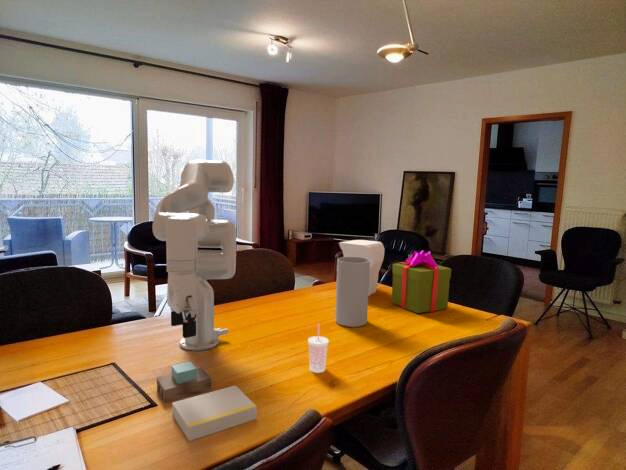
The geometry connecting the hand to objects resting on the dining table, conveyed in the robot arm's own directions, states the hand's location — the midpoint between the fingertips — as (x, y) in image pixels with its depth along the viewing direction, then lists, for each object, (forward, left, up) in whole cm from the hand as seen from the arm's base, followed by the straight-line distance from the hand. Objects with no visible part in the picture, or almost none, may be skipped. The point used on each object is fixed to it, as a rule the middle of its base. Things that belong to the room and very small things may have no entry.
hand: (183, 330), depth 109 cm
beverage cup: (-37, +8, -16) cm, 41 cm away
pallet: (0, 0, -17) cm, 17 cm away
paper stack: (-105, -49, -16) cm, 117 cm away
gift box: (-112, -20, -17) cm, 115 cm away
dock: (-2, +16, -16) cm, 23 cm away
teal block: (0, 0, -13) cm, 13 cm away
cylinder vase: (-72, -19, -16) cm, 76 cm away
